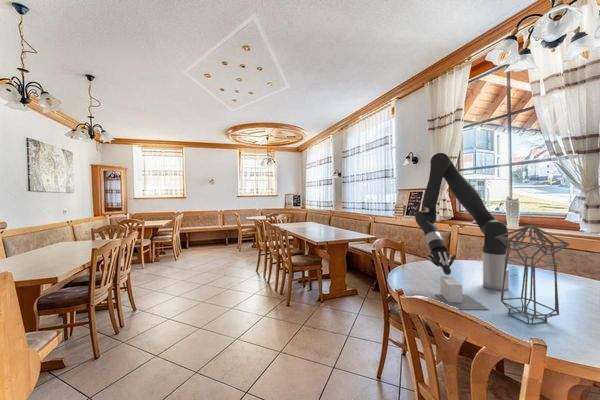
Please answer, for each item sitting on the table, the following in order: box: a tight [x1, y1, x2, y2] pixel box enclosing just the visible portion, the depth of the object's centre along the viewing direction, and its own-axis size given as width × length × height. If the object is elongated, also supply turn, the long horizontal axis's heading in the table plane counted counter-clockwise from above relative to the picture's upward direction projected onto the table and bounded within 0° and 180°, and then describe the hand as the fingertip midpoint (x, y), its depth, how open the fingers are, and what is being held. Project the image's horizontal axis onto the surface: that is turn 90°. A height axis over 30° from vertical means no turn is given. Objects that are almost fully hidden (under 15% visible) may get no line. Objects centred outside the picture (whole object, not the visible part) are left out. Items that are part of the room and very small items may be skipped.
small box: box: [439, 276, 463, 303], centre depth 112 cm, size 8×6×10 cm
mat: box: [434, 293, 489, 311], centre depth 108 cm, size 14×15×1 cm
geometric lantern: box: [496, 225, 570, 325], centre depth 92 cm, size 16×16×35 cm
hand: (448, 274), depth 115 cm, fingers closed
